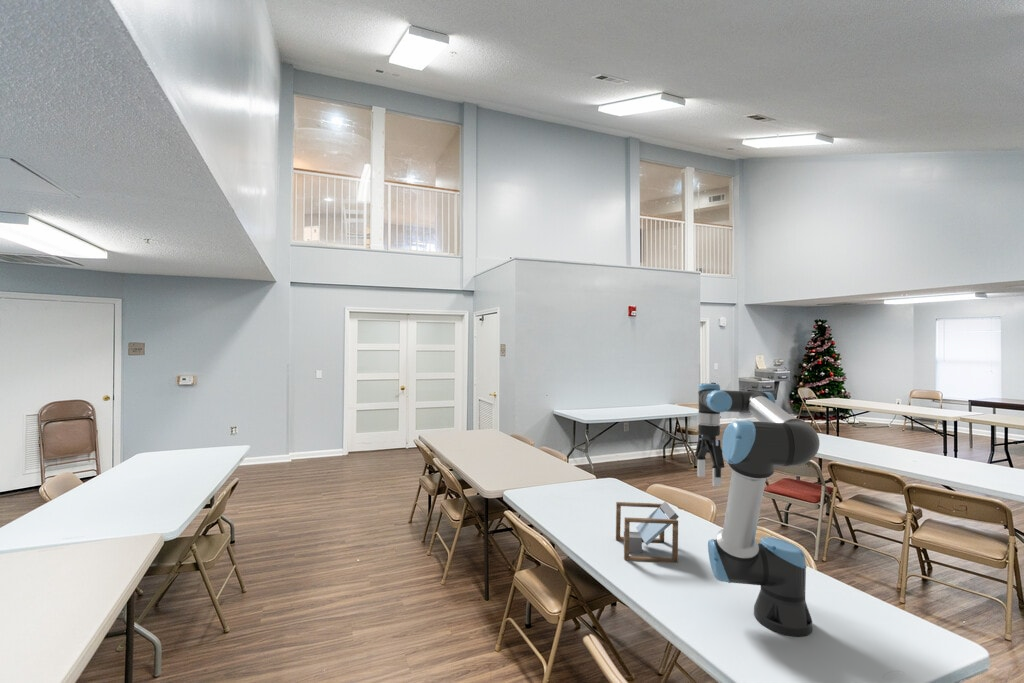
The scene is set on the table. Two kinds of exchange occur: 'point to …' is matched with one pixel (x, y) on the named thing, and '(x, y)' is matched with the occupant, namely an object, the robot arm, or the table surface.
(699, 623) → the table surface
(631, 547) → the gray cube
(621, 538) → the frame
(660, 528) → the plate
